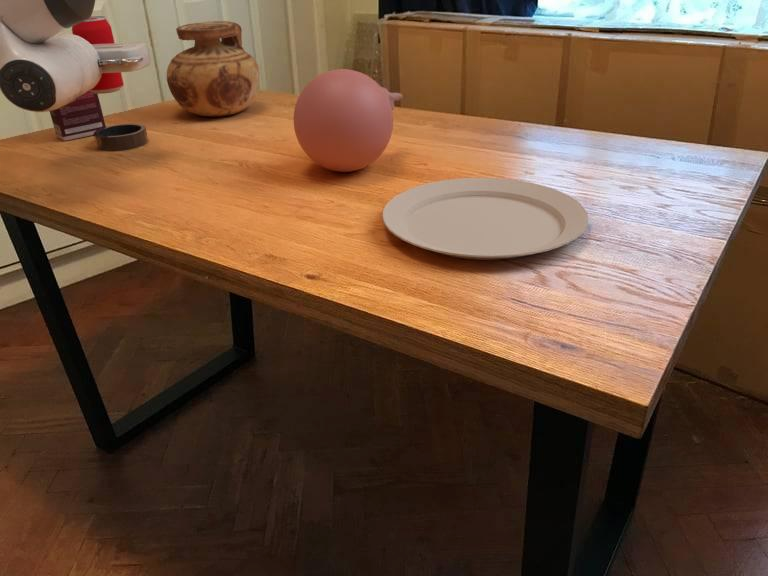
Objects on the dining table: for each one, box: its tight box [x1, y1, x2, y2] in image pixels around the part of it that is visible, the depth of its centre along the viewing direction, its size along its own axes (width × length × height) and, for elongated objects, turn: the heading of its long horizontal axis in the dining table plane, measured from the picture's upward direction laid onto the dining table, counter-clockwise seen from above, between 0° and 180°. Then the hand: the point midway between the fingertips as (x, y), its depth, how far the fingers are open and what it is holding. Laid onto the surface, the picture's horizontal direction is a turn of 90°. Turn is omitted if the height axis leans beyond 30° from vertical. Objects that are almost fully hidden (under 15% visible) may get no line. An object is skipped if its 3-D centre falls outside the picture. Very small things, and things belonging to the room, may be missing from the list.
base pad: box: [92, 123, 149, 152], centre depth 123 cm, size 9×9×2 cm
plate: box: [382, 177, 590, 261], centre depth 84 cm, size 26×26×2 cm
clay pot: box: [166, 20, 261, 118], centre depth 138 cm, size 19×19×20 cm
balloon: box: [293, 68, 404, 173], centre depth 103 cm, size 15×20×15 cm
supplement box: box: [49, 91, 107, 142], centre depth 126 cm, size 9×5×16 cm, turn 130°
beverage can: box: [71, 15, 124, 95], centre depth 113 cm, size 6×6×12 cm
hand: (98, 50), depth 114 cm, fingers closed on beverage can, 6 cm apart
